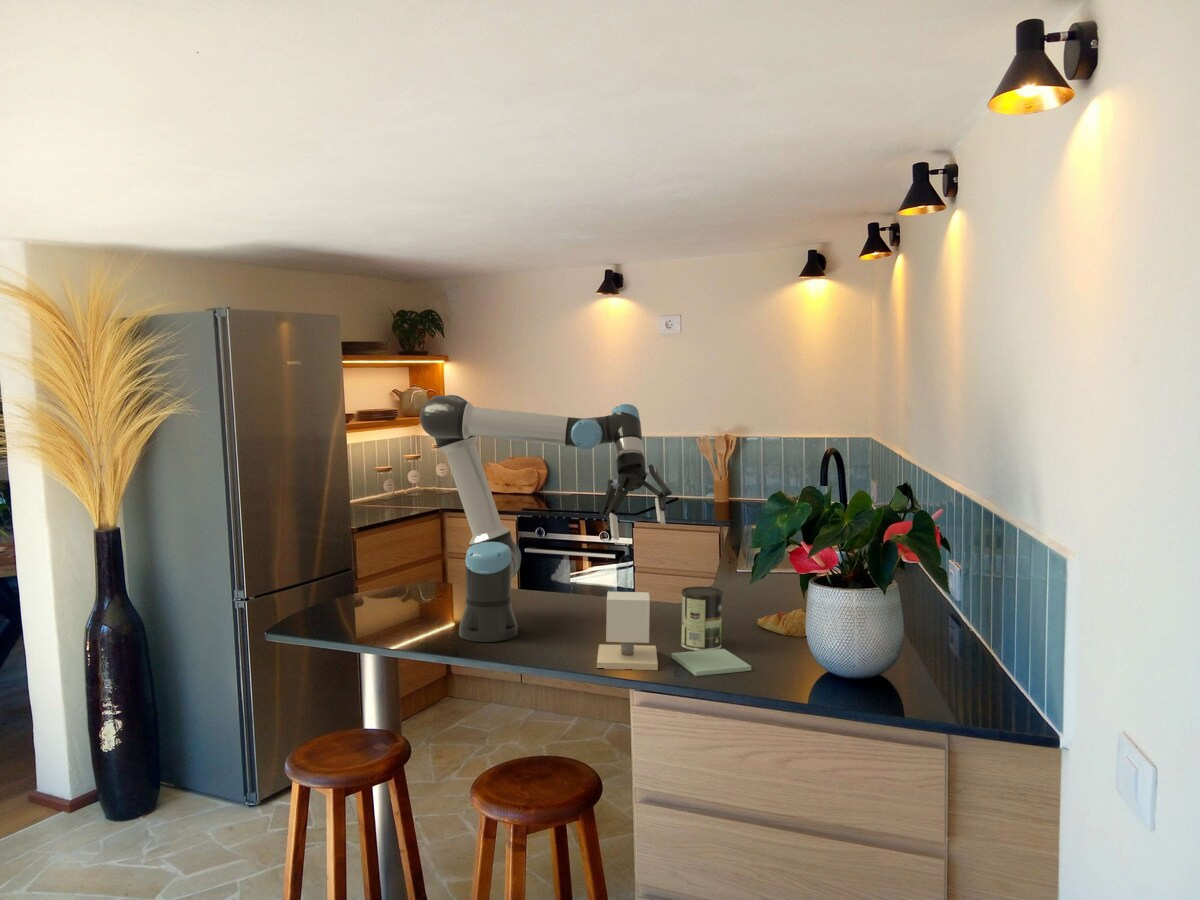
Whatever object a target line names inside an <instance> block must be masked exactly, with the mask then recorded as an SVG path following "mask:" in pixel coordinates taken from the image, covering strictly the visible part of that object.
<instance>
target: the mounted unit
mask: <svg viewBox="0 0 1200 900" xmlns="http://www.w3.org/2000/svg"><path fill="white" fill-rule="evenodd" d="M650 600H651V599H650V592H649V591H648V592H647V591H646V592H644V591H642V592H641V591H607V595H606V620H605V621H606V624H605V625H606V627H605V628H606V629H605V633H606V635H605V639H606V640H605V642H606V643H608V642H609V643H620V644H601V643H600V644H599V645H598V652H597V658H596V669H597V668H604V669H603V670H625V669H632V671H633V670H634V671H658V669H659V668H658V667H659V666H658V665H659V664H658V654H657V653H658V652H657V647H656V646H657V645H643V644H644V643H645V644H649V643H650V615H651V614H650V612H651V611H650V606H651V605H650V603H651V602H650ZM635 643H643V644H642V645H641V644H639V645H637V644H635Z"/></svg>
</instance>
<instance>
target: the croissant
mask: <svg viewBox="0 0 1200 900" xmlns="http://www.w3.org/2000/svg"><path fill="white" fill-rule="evenodd" d="M806 611H807V610H805V609H803V608H798V609H794V610H792V611H790V612H787V611H786V612H785V611H783V612H781V611H780V612H778V613H776V614H770V615H769V614H768V615H765V616H764V617H759V618H757V625H758V626H760V627H761V628H763V629H764V630H765V629H766V631H767V630H768V631H770V632H774V633H777V634H780V635H782V634H783V635H784V636H789V637H790V636H791V637H795V636H797V637H798V638H804V637H805V615H806ZM805 638H806V637H805Z"/></svg>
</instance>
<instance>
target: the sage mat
mask: <svg viewBox="0 0 1200 900" xmlns="http://www.w3.org/2000/svg"><path fill="white" fill-rule="evenodd" d="M671 658H672V659H673V660H674V661H676V662H677V663H678V664H680V666H682V667H683V668H685V669H686V670H687V671H688V672H689V673H691V674H692V675H694V677H698V676H699V677H700V676H701V677H702V676H710V675H711V676H712V675H720V674H728V673H729V674H730V673H740V672H749V671H752V665H750V664H748V662H745V661H744V660H743V659H741V658H739V657H738V656H736V655H734V653H731V652H730V651H729V650H727V649H725V648H720V649H714V650H703V651H694V650H691V651H683V652H672V653H671Z"/></svg>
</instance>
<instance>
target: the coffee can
mask: <svg viewBox="0 0 1200 900" xmlns="http://www.w3.org/2000/svg"><path fill="white" fill-rule="evenodd" d="M722 607H723V591H722V590H721V589H720V588H715V587H709V586H689V587H685V588H683V589H681V637H680V638H681V641H680V645H681V647H682V648H684V649H686V650H689V651H703V650H714V649H722V619H723V618H722V611H723V608H722Z"/></svg>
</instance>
